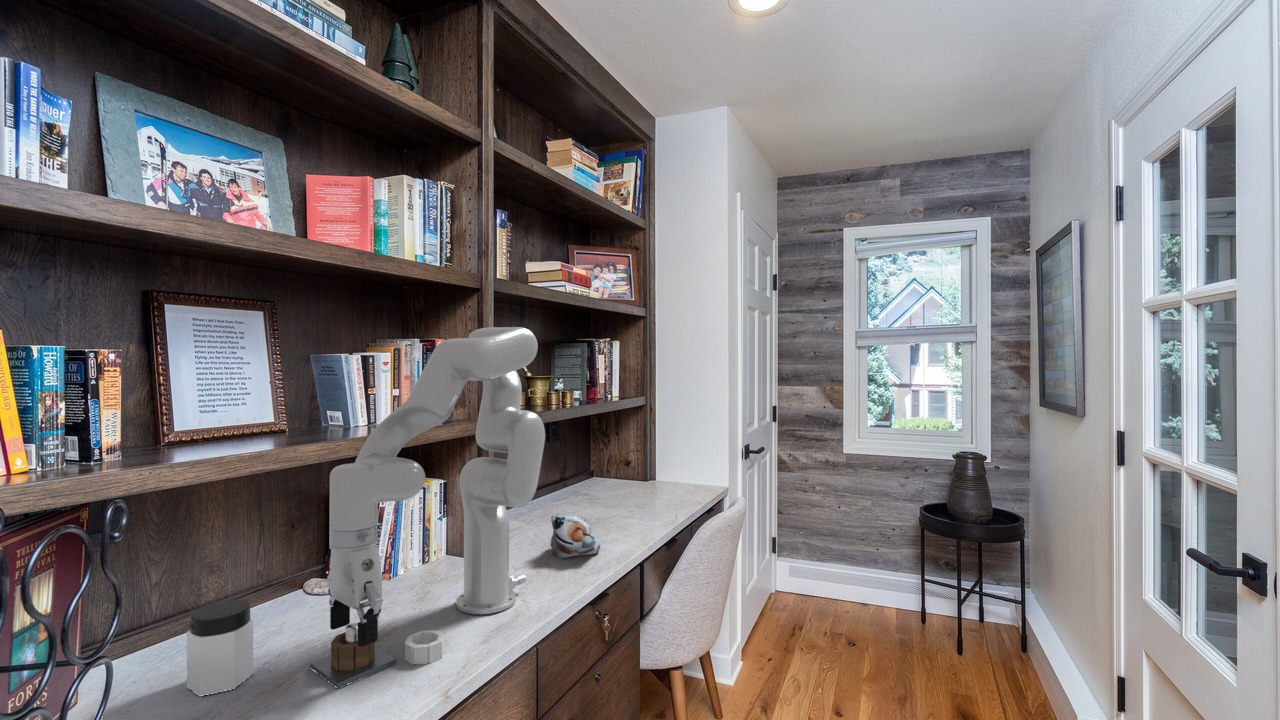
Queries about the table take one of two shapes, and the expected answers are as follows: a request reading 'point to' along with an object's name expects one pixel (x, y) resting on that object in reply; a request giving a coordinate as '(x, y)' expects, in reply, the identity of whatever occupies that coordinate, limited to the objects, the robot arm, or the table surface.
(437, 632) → the collar
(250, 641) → the jar
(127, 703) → the table surface
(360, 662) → the brown angular block
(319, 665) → the post
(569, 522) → the lucky cat figurine
